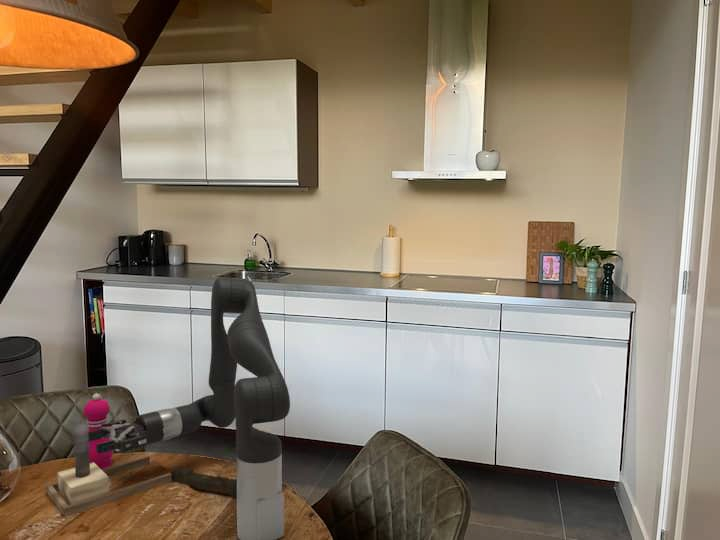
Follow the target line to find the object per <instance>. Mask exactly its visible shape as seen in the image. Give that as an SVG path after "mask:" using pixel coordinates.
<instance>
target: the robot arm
mask: <svg viewBox="0 0 720 540" xmlns="http://www.w3.org/2000/svg"><path fill="white" fill-rule="evenodd" d="M210 297H211V300H210V339H211V341H210V343H211V345H210V347H211V348H210V349H211V351H210V353H211V354H210V364H209V374H208V386H209V388H210V390H211V391H212V394H211V395H210V394H209V395H204V396H203V397H201V398H198V399H197V400H195V401H193V402H191V403H188V404H184V405H180V406H175V407H172V408H171V407H170V408H164V409H160V410H155V411H151V412H146V413H142V414H139V415H137V416H136V418H135V421H134V422H133V423H132V422H131V423H130V422H128V423H127V419H120V420H115V421H110V422H108V423H106V424H102V425H101V429H98V430H94V431H90V432H89V431H88V437H89V442H90V441H94V440H98V439H102V438H109V439H110V441H107V442H103V443H99V444H97V445H96V452H97V453H98V454H102V453H105V452H109V451H113V450H114V451H115V452H119V451H120V453H127V452H131V451H133V450H138V449H140V448H143V447H146V446H149V445H152V444H156V443H160V442H164V441H168V440H171V439H173V438H176V437H179V436H182V435H185V434H188V433H192V432H195V431H197V430H199V428H201V426H202V423H204V422H207V421H208V422H210V423H211V424H213V425H214V426H215V427H217V428H219V429H220V428H222V429H224V428H225V429H226V428H228V427H229V426H231V425H232V424H233V423H234V421H235V442H236V443H235V445H236V447H235V448H236V449H235V451H236V452H235V455H236V457H235V458H236V479H237V496H236V525H237V527H236V529H237V530H236V532H237V533H236V534H237V538H238V539H239V540H278V539H280V538H282V537H284V536H285V493H284V492H283V491H282V490H283V487H282V485H283V483H282V482H283V479H282V477H283V474H282V473H283V471H282V470H283V469H282V468H283V466H282V464H283V463H282V462H283V461H282V460H283V458H282V455H283V454H282V451H283V450H282V448H283V446H282V445H283V443H282V440H281V438H280V437H278V435H276V434H274V433H271V432H268V431H264V430H260V429H257V428H256V427H254V426H253V425H257V424H266V423H272V422H278V421H279V422H280V421H282V420H284V419H286V417H288V414H289V413H290V408H291V399H290V394H289V389H288V385H287V383H286V381H285V379H284V375H283V374H282V372H281V369H280V367H279V365H278V363H277V362H276V359H275V355H274V353H273V350H272V345H271V343H270V338H269V335H268V332H267V329H266V327H265V325H264V322H263V319H262V316H261V312H260V309H259V302H258V296H257V292H256V288H255V285H254V284H253V282H252V281H250V280H248V279H245V278H232V277H218V278H216V279H215V280H214V282H213V285H212V290H211V296H210ZM224 314H238V315H237V316H236V318H235V319H234V320H233V321H232V322H231V324H230V326H229V327H228V329H227V331H226V327H225V325H224V323H225V322H224ZM238 365H239V366H240V367H242V368H243V369H244V370H246V371H248V372H249V373H251V374H253V376H254V377H245V378H240V379H237V370H238ZM236 380H237V381H236Z"/></svg>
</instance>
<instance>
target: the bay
mask: <svg viewBox="0 0 720 540" xmlns="http://www.w3.org/2000/svg"><path fill="white" fill-rule="evenodd" d="M150 458H151V457H150V456H149V455H145V456H143V457H139V458H136V459H132V460H129V461H124V462H121V463H118V464H114V465H110V466H109V467H107V468H104V469H101V470H102V471H103V472H104V473H105V474H106V475H107V476H108V477H110V476H114V475H117V474H119V473H123V472H126V471H130V470H133V469H137V468H140V467H143V466H147V465H150V462H151V461H150V460H151V459H150ZM170 473H171V472H169V473H166V474H163V475H159V476H156V477H154V478H150V479H146V480H144V481H141V482H138V483H134V484H131V485H127V486H125V487H122V488H119V489H116V490H112V491H109V493H106V494H103V495H99V496H96V497H93V498H90V499H87V500H84V501H81V502H78V503H74V504H71V505H68V504H67V503H66V502H65V501H64V499H63V498H62V497H61V496H60V494H59V493H58V481H56V482H52V483H49V484H46V487H45V488H46V489H45V490H46V494H47V495H48V497H49V498H50V499H51V502H53V504H54V505H55V506H56V508H57V509H58V510H59V512H60V513H61V514H62V515H63V517H64V518H66V517H70V516H72V515H76V514H78V513H81V512H85V511H87V510H88V511H89V510H91V509H94V508H97V507H100V506H103V505H106V504H109V503H112V502H115V501H117V500H121V499H124V498H126V497H130V496H133V495H136V494H139V493H142V492H144V491H148V490H150V489H154V488H157V487H160V486H163V485H165V484H168V483H169V484H170V483H171V482H173V480H172V474H170Z"/></svg>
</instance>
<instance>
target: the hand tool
mask: <svg viewBox="0 0 720 540" xmlns="http://www.w3.org/2000/svg"><path fill="white" fill-rule="evenodd" d="M169 473H170V474H172V482H174V483H179V484H181V485H186V486H188V487H189V488H193V489H199V490H202V491H203V490H205V491H209V492H213V493H219V494H223V495H228V496H229V495H230V496H231V497H232V499H235V498H237V478H235V479H234V478H228V477H223V476H221V475H220V476H219V475H218V476H215V475H210V474H204V473H199V472H195V471H194V469H193V468H187V467H183V466H182V467H181V466H175V467H173V468H172V469H171V470H170V472H169Z"/></svg>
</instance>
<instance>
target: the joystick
mask: <svg viewBox="0 0 720 540" xmlns="http://www.w3.org/2000/svg"><path fill="white" fill-rule="evenodd" d="M72 431H73V449H74V451H73V452H74V467H71V468H68V469H64V470H62V471H58V472H57V482H58V491H57V492H58V493H59V495H60V496H61V497H62V499H63V500H64V501H65V502H66V504H67V505H71V504H74V503H78V502H81V501H84V500H87V499H90V498H93V497H96V496H99V495H103V494H106V493H109V492H110V486H111V479H110V476H107V475H106V474H105V473H104V472H103V471H102V470H101V469H100V468H99V467H98V466H97V465H96V464H95V463H94V462H93V463H90V460H89V437H88V432H89V428H88V423H87V422H86V421H78V422H75V423H73V425H72Z"/></svg>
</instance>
